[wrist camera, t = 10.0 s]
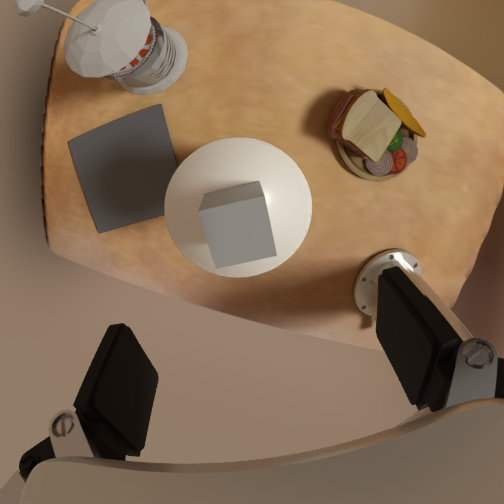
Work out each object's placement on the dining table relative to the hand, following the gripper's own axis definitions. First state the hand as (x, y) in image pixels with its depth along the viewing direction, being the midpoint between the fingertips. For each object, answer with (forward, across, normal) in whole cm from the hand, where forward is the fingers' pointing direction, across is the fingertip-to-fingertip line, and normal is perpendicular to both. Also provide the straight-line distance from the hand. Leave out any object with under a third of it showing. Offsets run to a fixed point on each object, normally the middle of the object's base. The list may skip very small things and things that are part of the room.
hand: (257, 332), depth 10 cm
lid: (+13, +1, 0) cm, 13 cm away
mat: (+28, +15, -4) cm, 32 cm away
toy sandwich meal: (+29, -18, -2) cm, 34 cm away
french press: (+28, +8, -19) cm, 35 cm away
